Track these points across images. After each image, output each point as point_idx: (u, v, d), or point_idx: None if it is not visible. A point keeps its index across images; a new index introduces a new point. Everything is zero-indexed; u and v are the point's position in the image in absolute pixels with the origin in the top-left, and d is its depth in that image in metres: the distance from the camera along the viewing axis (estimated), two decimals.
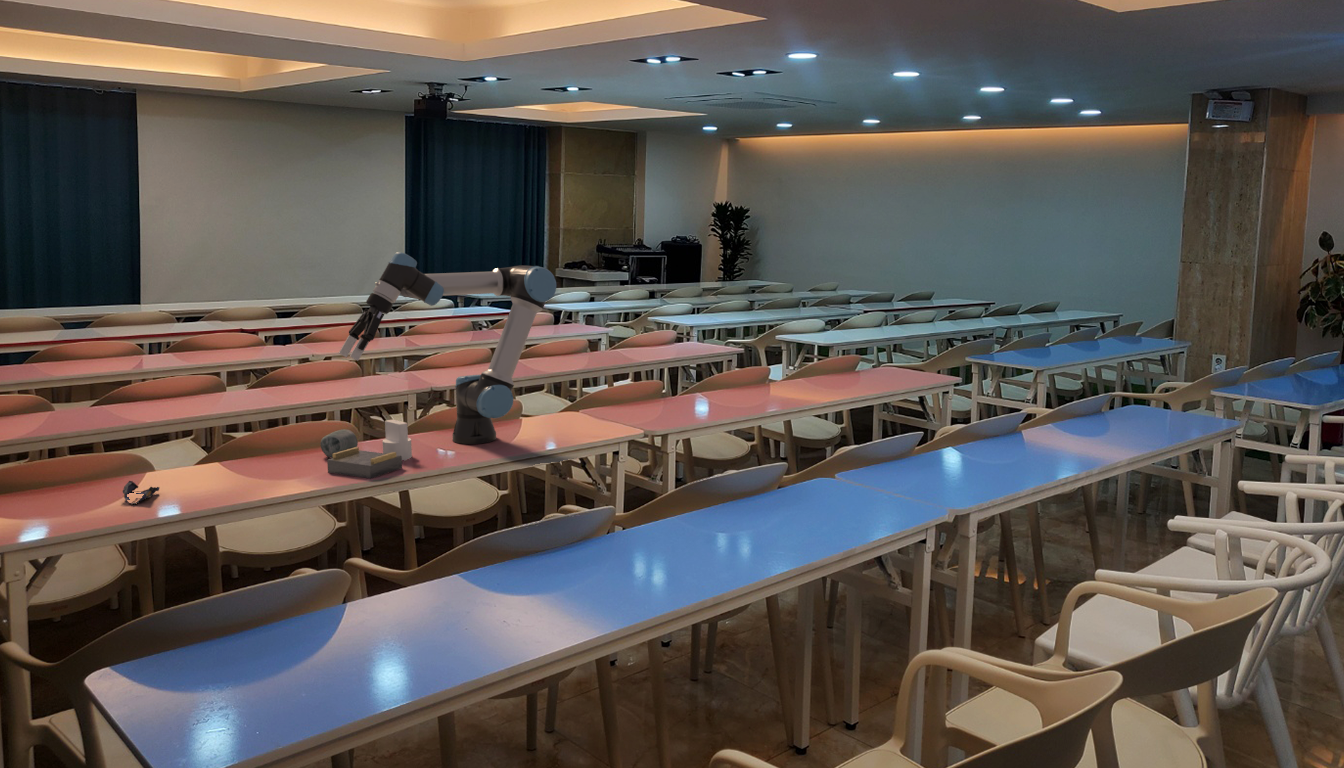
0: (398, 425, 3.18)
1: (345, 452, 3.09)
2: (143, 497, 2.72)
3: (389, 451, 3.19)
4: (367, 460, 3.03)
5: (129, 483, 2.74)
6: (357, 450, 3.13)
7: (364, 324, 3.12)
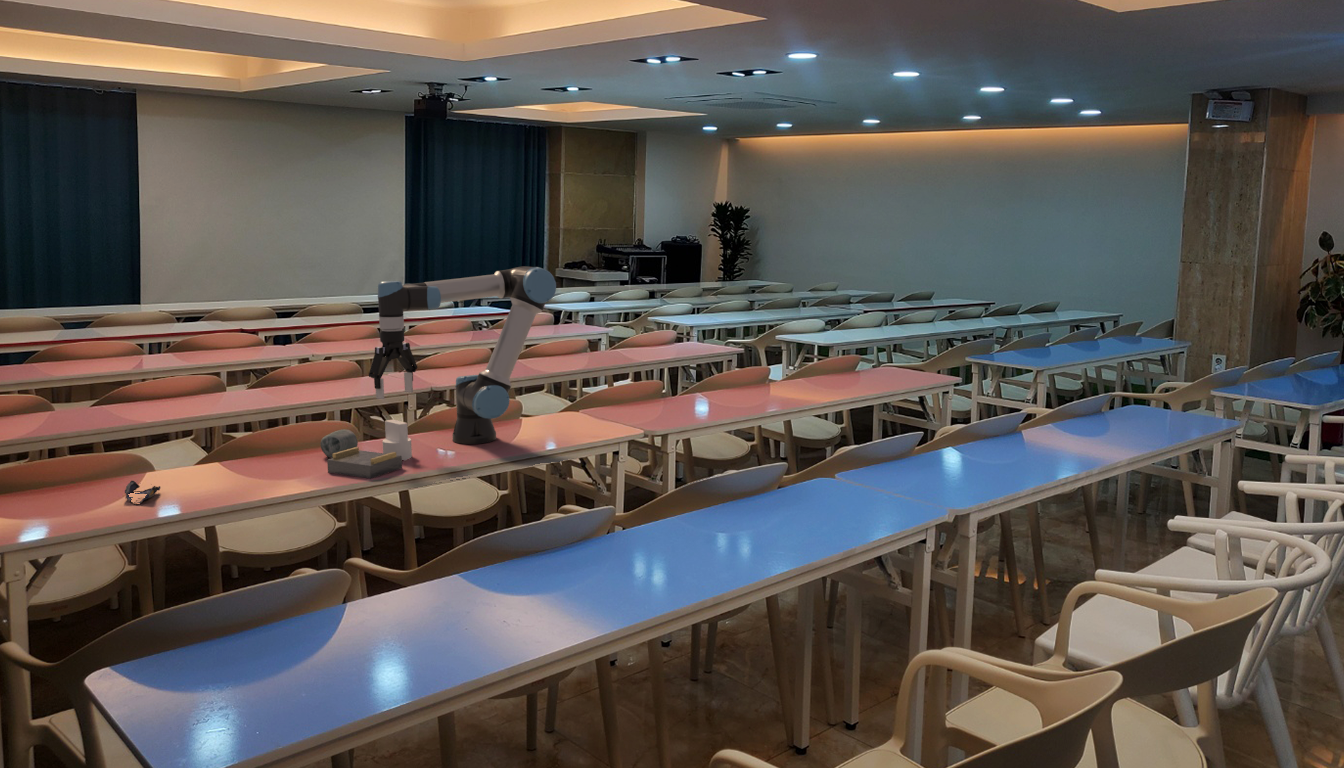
0: (398, 425, 3.18)
1: (345, 452, 3.09)
2: (146, 496, 2.72)
3: (389, 451, 3.19)
4: (367, 460, 3.03)
5: (131, 483, 2.74)
6: (357, 450, 3.13)
7: (400, 358, 3.21)
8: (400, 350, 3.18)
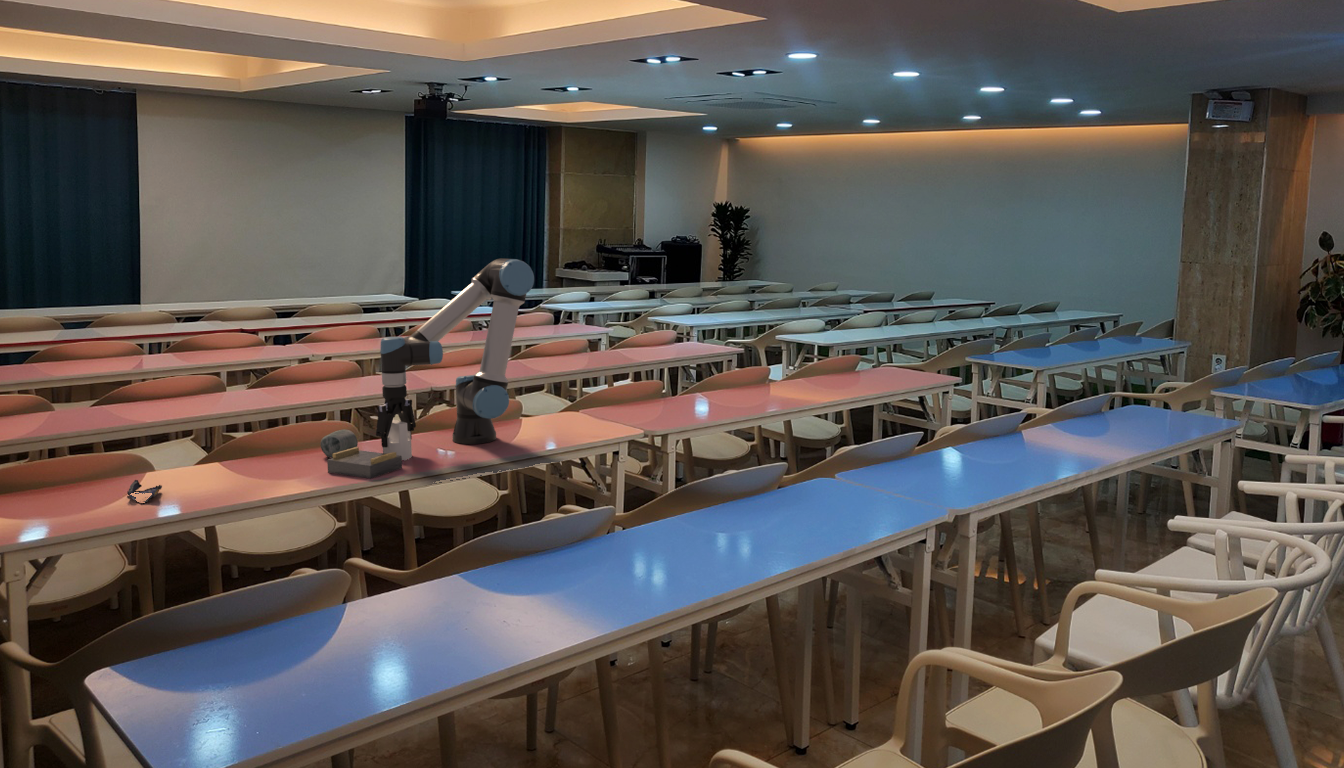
0: (398, 425, 3.18)
1: (345, 452, 3.09)
2: (151, 495, 2.73)
3: None
4: (367, 460, 3.03)
5: (135, 482, 2.74)
6: (357, 450, 3.13)
7: (401, 414, 3.23)
8: (402, 405, 3.21)
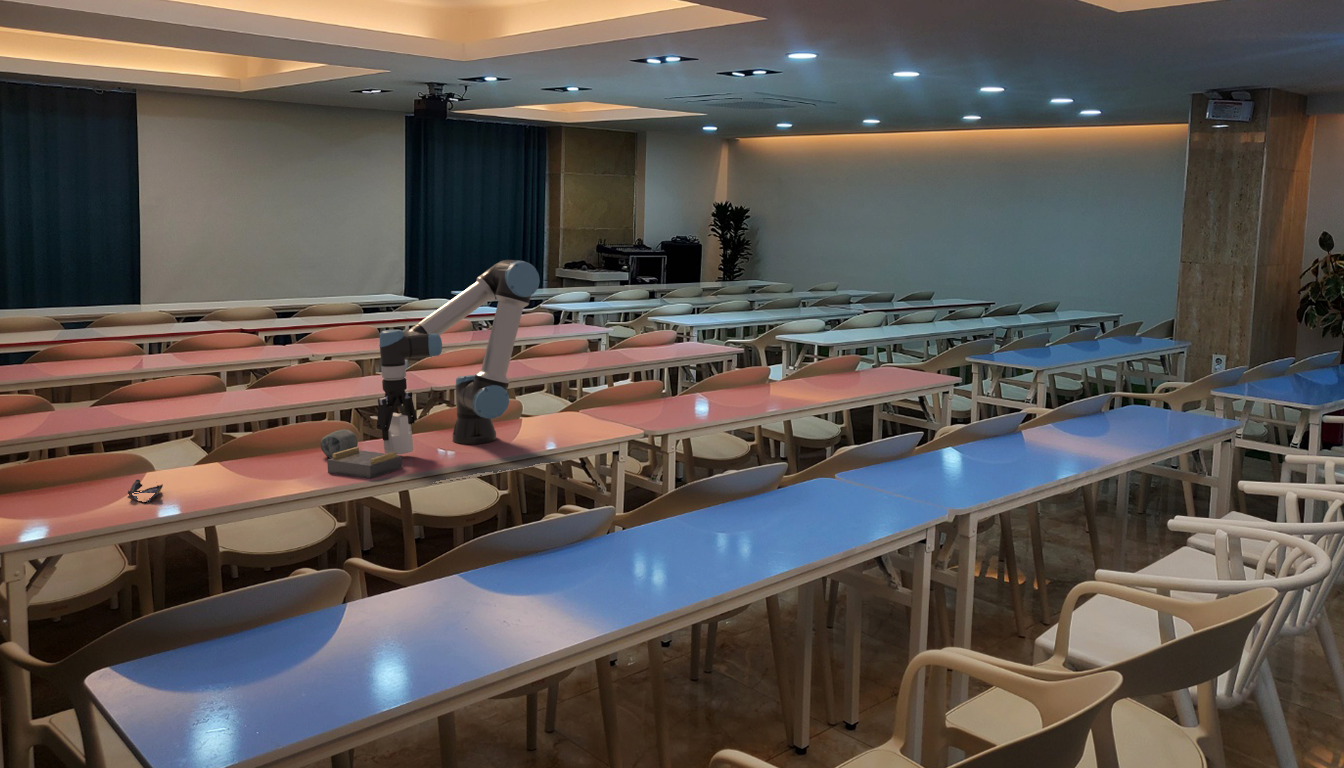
0: (399, 418, 3.17)
1: (345, 452, 3.09)
2: (154, 495, 2.74)
3: None
4: (367, 460, 3.03)
5: (136, 482, 2.75)
6: (357, 450, 3.13)
7: (401, 407, 3.23)
8: (402, 398, 3.20)
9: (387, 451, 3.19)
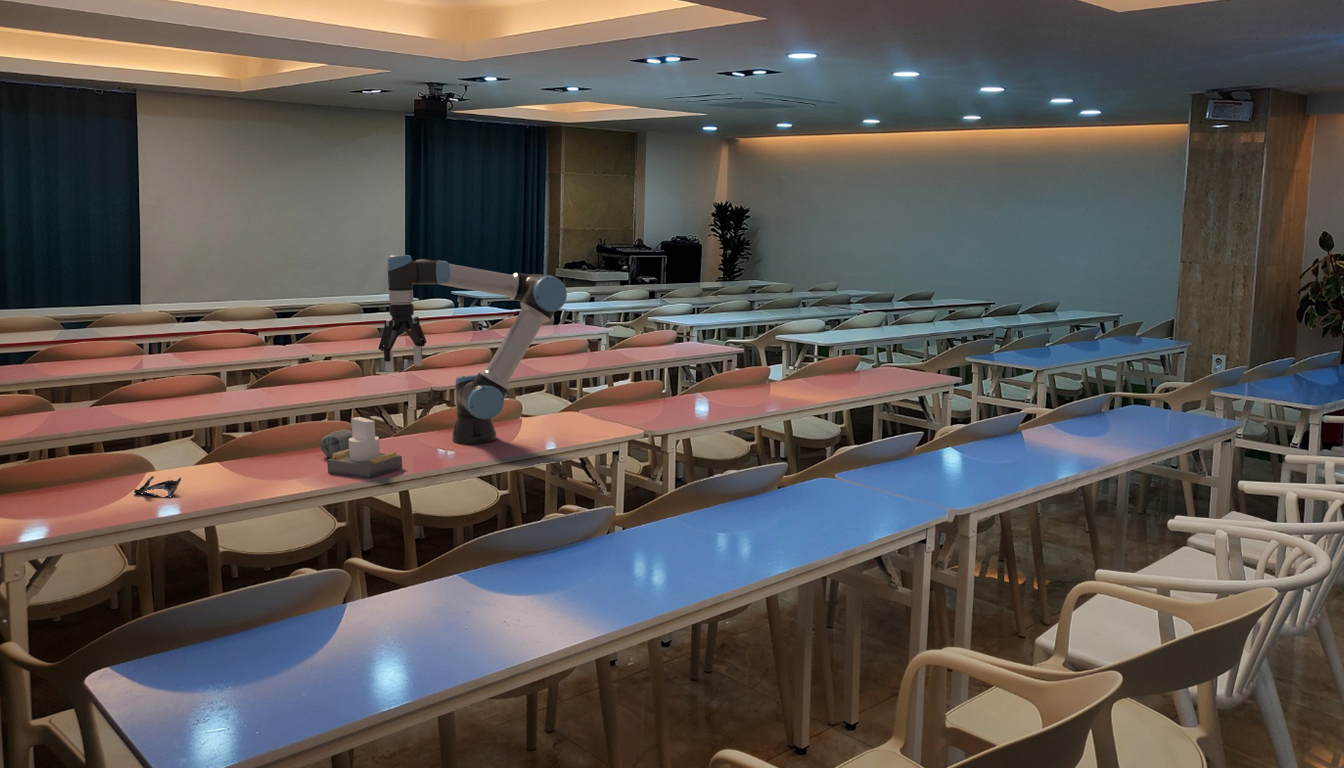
0: (365, 423, 3.01)
1: (345, 452, 3.09)
2: (173, 489, 2.80)
3: (355, 450, 3.02)
4: None
5: (151, 478, 2.78)
6: None
7: (409, 332, 3.24)
8: (409, 324, 3.21)
9: (352, 458, 3.03)
